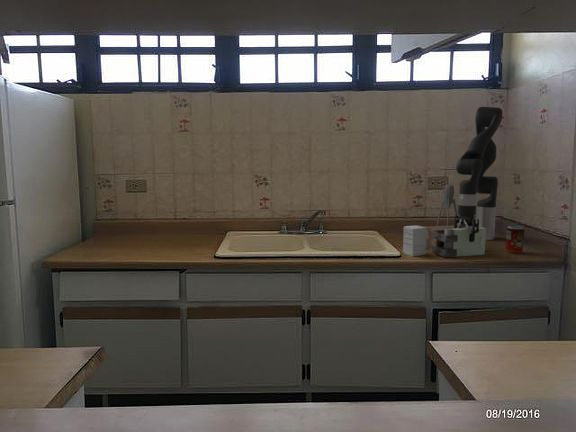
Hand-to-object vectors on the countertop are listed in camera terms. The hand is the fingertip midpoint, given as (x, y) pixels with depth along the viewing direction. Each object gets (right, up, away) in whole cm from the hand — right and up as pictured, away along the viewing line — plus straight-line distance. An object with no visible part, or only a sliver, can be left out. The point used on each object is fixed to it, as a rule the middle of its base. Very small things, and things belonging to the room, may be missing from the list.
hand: (465, 240), depth 199 cm
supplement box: (-22, -7, +3) cm, 23 cm away
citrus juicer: (0, -3, +28) cm, 28 cm away
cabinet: (-3, -6, +8) cm, 10 cm away
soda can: (+25, -6, +6) cm, 26 cm away
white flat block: (0, -7, +1) cm, 7 cm away
